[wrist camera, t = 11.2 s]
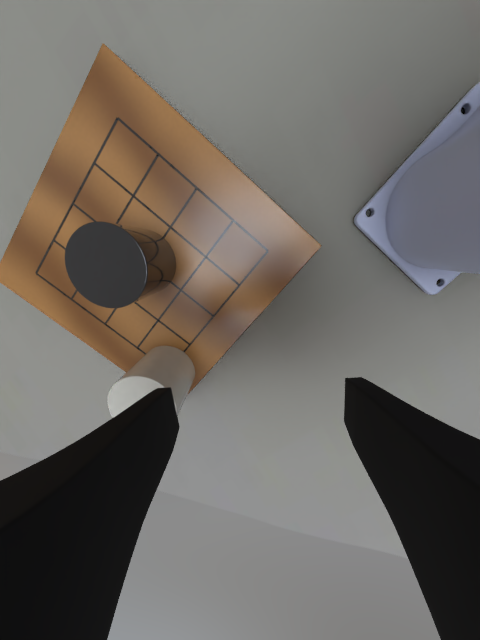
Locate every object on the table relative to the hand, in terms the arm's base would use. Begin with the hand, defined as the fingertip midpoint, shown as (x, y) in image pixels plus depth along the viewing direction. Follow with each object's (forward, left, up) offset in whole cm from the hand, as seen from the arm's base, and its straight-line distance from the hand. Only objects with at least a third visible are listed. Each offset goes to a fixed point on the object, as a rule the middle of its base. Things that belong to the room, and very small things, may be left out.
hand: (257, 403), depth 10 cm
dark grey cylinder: (+1, -9, -8) cm, 12 cm away
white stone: (+7, -3, -8) cm, 11 cm away
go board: (+1, -9, -9) cm, 13 cm away
